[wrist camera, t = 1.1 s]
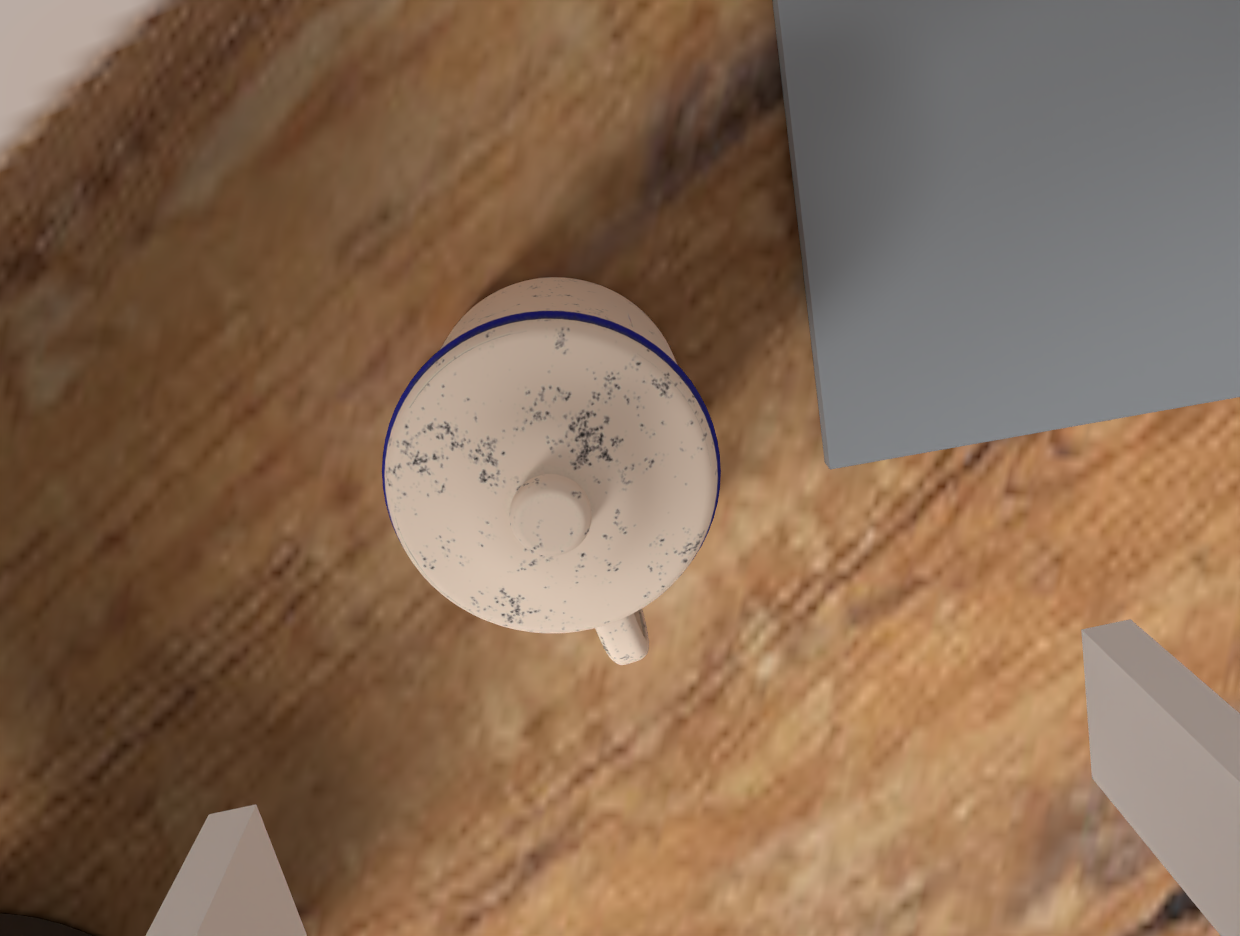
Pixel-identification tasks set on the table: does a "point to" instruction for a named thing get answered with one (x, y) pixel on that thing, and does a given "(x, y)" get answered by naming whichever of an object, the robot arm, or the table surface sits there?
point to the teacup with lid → (553, 464)
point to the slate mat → (1012, 213)
